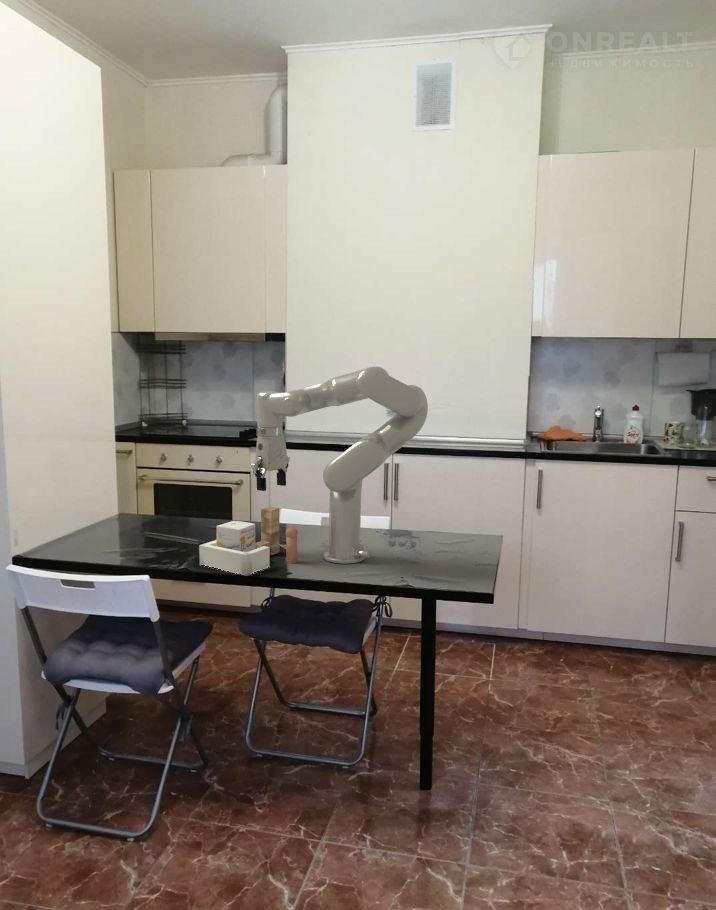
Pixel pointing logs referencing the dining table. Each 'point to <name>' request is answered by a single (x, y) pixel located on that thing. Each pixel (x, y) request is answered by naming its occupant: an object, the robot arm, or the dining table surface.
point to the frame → (234, 558)
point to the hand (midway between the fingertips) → (271, 487)
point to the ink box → (236, 536)
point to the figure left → (291, 545)
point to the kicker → (269, 529)
